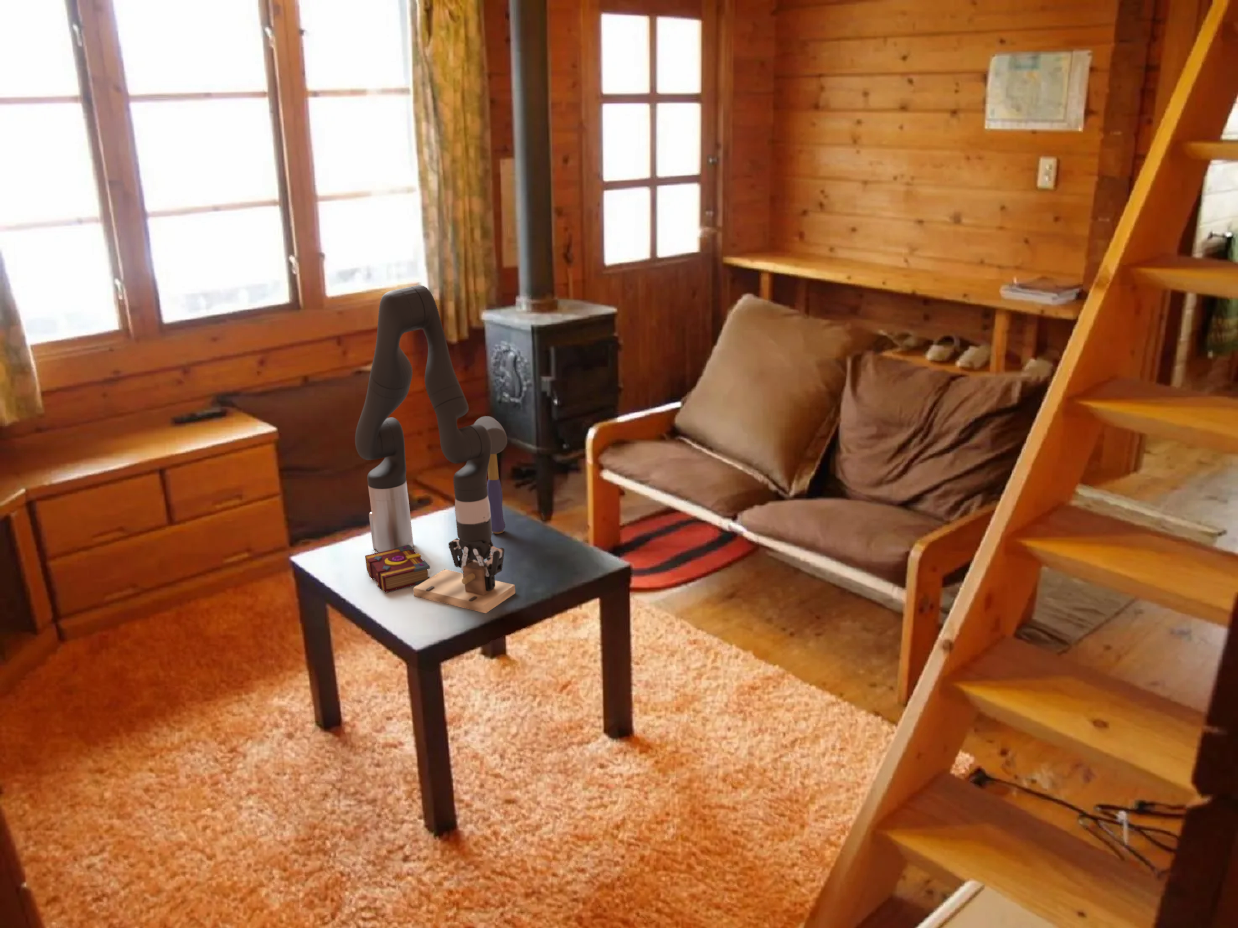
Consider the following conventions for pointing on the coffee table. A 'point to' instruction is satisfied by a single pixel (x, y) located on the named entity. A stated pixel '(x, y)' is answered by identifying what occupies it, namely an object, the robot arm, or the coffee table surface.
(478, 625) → the coffee table surface
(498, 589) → the board
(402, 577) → the decorative book
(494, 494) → the rubber mallet
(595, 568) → the coffee table surface
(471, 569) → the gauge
